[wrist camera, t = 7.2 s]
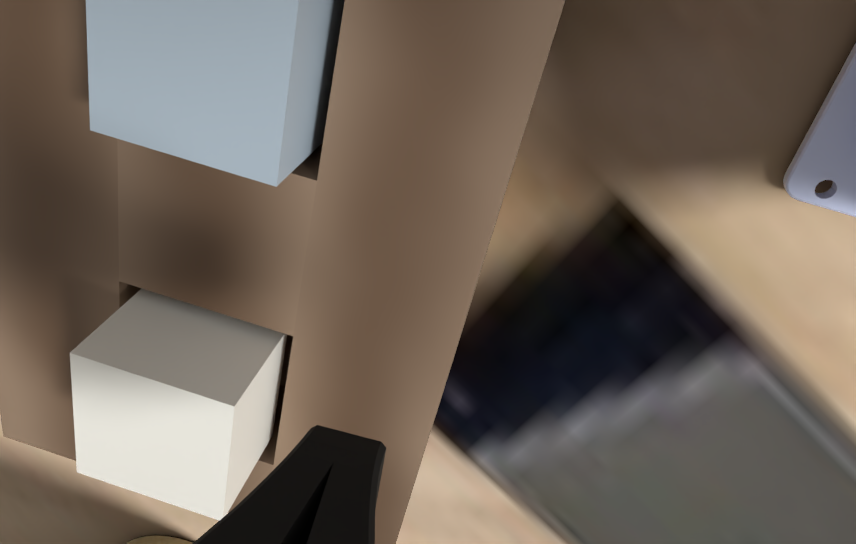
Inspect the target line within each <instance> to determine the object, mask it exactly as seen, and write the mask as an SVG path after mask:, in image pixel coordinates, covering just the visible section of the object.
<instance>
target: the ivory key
mask: <svg viewBox="0 0 856 544" xmlns="http://www.w3.org/2000/svg"><path fill="white" fill-rule="evenodd" d="M286 339H287V334H284V333H281V332H278V331H274V330H271V329H268V328H265V327H262V326H259V325H256V324H252V323H249V322H246V321H243V320H240V319H237V318H234V317H230V316H227V315H224V314H221V313H218V312H215V311H212V310H208V309H205V308H202V307H199V306H196V305H193V304H189V303H186V302H183V301H180V300H177V299H174V298H171V297H167V296H164V295H161V294H158V293H155V292H152V291H149V290H145V289H140V290H139V291H138V292H137V293H136V294H135V295H134V296H133V297H132V298H130V299H129V300H128V301H127V302H126V303H125V304H124V305H123V306H121V307H120V308H119V309H118V310H117V311H116V312H115V313H114V314H113V315H111V316H110V317H109V318H108V319H107V320H106V321H105V322H104V323H102V324H101V325H100V326H99V327H98V328H97V329H96V330H95V331H93V332H92V333H91V334H90V335H89V336H88V337H87V338H86V339H85V340H83V341H82V342H81V343H80V344H79V345H78V346H77V347H76V348H74V349H73V350H72V351H71V352H70V366H71V383H72V399H73V416H74V432H75V449H76V465H77V473H80V474H83V475H86V476H89V477H92V478H95V479H98V480H101V481H104V482H107V483H110V484H113V485H116V486H119V487H122V488H125V489H128V490H131V491H134V492H137V493H139V494H142V495H145V496H148V497H151V498H154V499H157V500H160V501H163V502H166V503H169V504H172V505H175V506H178V507H181V508H184V509H187V510H190V511H193V512H196V513H199V514H202V515H205V516H208V517H210V518H213V519H216V520H219V521H220V520H221V519H222V518H223V517H224V516H225V515H227V513H228V511H229V509H230V508H231V506H232V504H233V503H234V501H235V499H236V497H237V496H238V494H239V492H240V491H241V489H242V487H243V485H244V484H245V482H246V480H247V479H248V477H249V475H250V473H251V472H252V470H253V468H254V467H255V465H256V463H257V461H258V460H259V458H260V456H261V455H262V453H263V451H264V449H265V448H266V446H267V444H268V443H269V441H270V439H271V437H272V434H273V427H274V421H275V414H276V407H277V400H278V394H279V387H280V380H281V373H282V366H283V360H284V353H285V346H286Z"/></svg>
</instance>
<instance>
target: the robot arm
mask: <svg viewBox="0 0 856 544" xmlns="http://www.w3.org/2000/svg"><path fill="white" fill-rule="evenodd" d="M824 180H832V181H833V183H832V187H831V188H830V189H829V190H828V191H826V192H823V193H816V192H814V191H815V187H816V186H817V185H818V183H819V182H822V181H824ZM783 184H784V188H785V189H786V191H787V192H788V194H789V195H790V196H791V197H792V198H794V199H796V200H799V201H802V202H806V203H809V204H813V205H816V206H819V207H823V208H826V209H830V210H833V211H837V212H840V213H844V214H847V215H850V216H854V217H856V43H855V45H854V47H853V48H852V50H851V52H850V54H849V56H848V58H847V60H846V61H845V63H844V65H843V67H842V69H841V71H840V73H839V74H838V76H837V78H836V80H835V82H834V84H833V86H832V87H831V89H830V91H829V93H828V95H827V97H826V99H825V100H824V102H823V104H822V106H821V108H820V110H819V112H818V113H817V115H816V117H815V119H814V121H813V123H812V125H811V126H810V128H809V130H808V132H807V134H806V136H805V138H804V139H803V141H802V143H801V145H800V147H799V149H798V151H797V152H796V154H795V156H794V158H793V160H792V162H791V164H790V165H789V167H788V169H787V171H786V173H785V176H784V179H783ZM385 453H386V447H385V446H384V444H383V443H382V442H381V441H377V440H373V439H370V438H366V437H362V436H358V435H354V434H350V433H347V432H343V431H339V430H335V429H331V428H328V427H324V426H320V425H316V426H314V427H312V428H311V429H310V430H309V431H308V432H307V433H306V435H305V436H304V437H303V438H302V439H301V441H300V442H299V443H298V444H297V445H296V446H295V448H294V449H293V450H292V451H291V452H290V453H289V454H288V455H287V456H286V457H285V458H284V460H283V461H282V462H281V463H280V464H279V465H278V466H277V467H276V468H275V469H274V470H273V471H272V472H271V473H270V474H269V475H268V476H267V477H266V478H265V479H264V480H263V481H262V482H261V483H260V484H259V485H258V486H257V487H256V488H255V489H254V490H253V491H252V492H250V493H249V494H248V495H247V496H246V497H245V498H244V499H243V500H242V501H241V502H240V503H239V504H238V505H237V506H236V507H235V508H234V509H232V510H231V511H230V512H229V513H228V514H227V515H225V516H224V517H223V518H222V519H221V520H220V521H219V522H217V523H216V524H215V525H214V526H213V527H212V528H210V529H209V530H208V531H207V532H206V533H205V534H203V535H202V536H201V537H200V538H199V539H198V540H196V541H195V542H194V543H193V544H375V508H376V503H377V497H378V492H379V486H380V481H381V475H382V469H383V464H384V458H385Z"/></svg>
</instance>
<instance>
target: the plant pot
mask: <svg viewBox="0 0 856 544" xmlns="http://www.w3.org/2000/svg"><path fill="white" fill-rule="evenodd" d="M126 544H193V542H190V541H186V540H183V539H179V538H174V537H169V536H145V537H140V538H136V539H134V540H131V541H129V542H128V543H126Z"/></svg>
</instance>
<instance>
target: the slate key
mask: <svg viewBox="0 0 856 544" xmlns="http://www.w3.org/2000/svg"><path fill="white" fill-rule="evenodd" d="M344 2H345V0H86V24H87V54H88V84H89V114H90V130H91V131H94V132H97V133H101V134H104V135H107V136H111V137H114V138H117V139H120V140H124V141H127V142H130V143H134V144H137V145H140V146H144V147H147V148H150V149H153V150H157V151H160V152H163V153H167V154H170V155H173V156H176V157H180V158H183V159H186V160H190V161H193V162H196V163H200V164H203V165H206V166H209V167H213V168H216V169H219V170H223V171H226V172H229V173H233V174H236V175H239V176H242V177H246V178H249V179H252V180H256V181H259V182H262V183H265V184H269V185H272V186H275V187H277V186H278V185H279V184H280V183H281V182H282V181H283V180H284V179H285V178H286V177H287V176H288V175H289V174H290V173H291V172H292V171H294V170H295V169H296V168H297V167H298V166H299V165H300V164H301V163H302V162H303V161H304V160H305V159H306V158H307V157H308V156H309V155H310V154H311V153H312V152H313V151H315V150H316V149H317V148H318V147H319V146H320V145H321V144H322V143H323V139H324V132H325V125H326V119H327V112H328V106H329V99H330V93H331V86H332V80H333V73H334V67H335V60H336V54H337V47H338V41H339V34H340V28H341V21H342V15H343V8H344Z"/></svg>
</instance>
